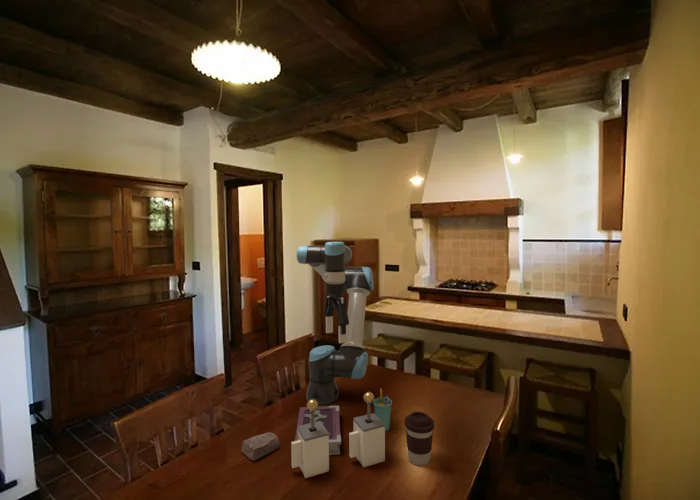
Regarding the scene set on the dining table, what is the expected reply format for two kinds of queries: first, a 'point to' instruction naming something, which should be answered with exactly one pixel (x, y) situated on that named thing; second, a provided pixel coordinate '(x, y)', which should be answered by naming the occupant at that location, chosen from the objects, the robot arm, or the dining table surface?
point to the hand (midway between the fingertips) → (335, 337)
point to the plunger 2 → (368, 403)
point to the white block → (367, 440)
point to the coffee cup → (419, 437)
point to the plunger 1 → (312, 411)
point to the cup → (383, 409)
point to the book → (330, 422)
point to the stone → (260, 445)
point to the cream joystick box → (311, 450)
